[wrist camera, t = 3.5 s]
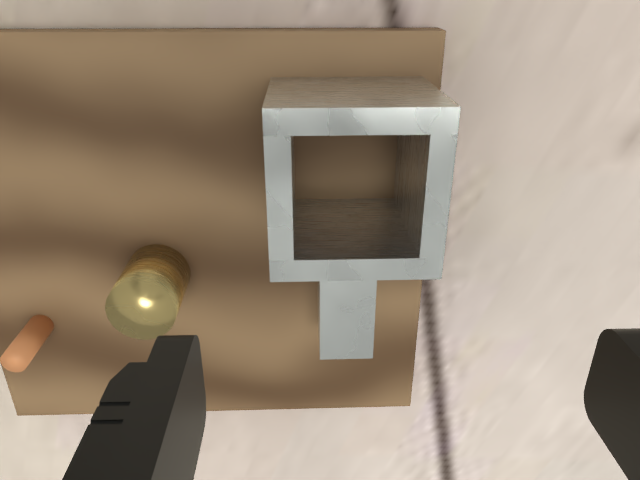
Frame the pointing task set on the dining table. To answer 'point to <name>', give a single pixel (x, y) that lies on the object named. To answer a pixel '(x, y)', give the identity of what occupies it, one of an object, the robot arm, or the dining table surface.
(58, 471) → the dining table surface
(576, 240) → the dining table surface
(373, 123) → the square container with handle
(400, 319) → the board
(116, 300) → the small yellow jar
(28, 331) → the dowel
